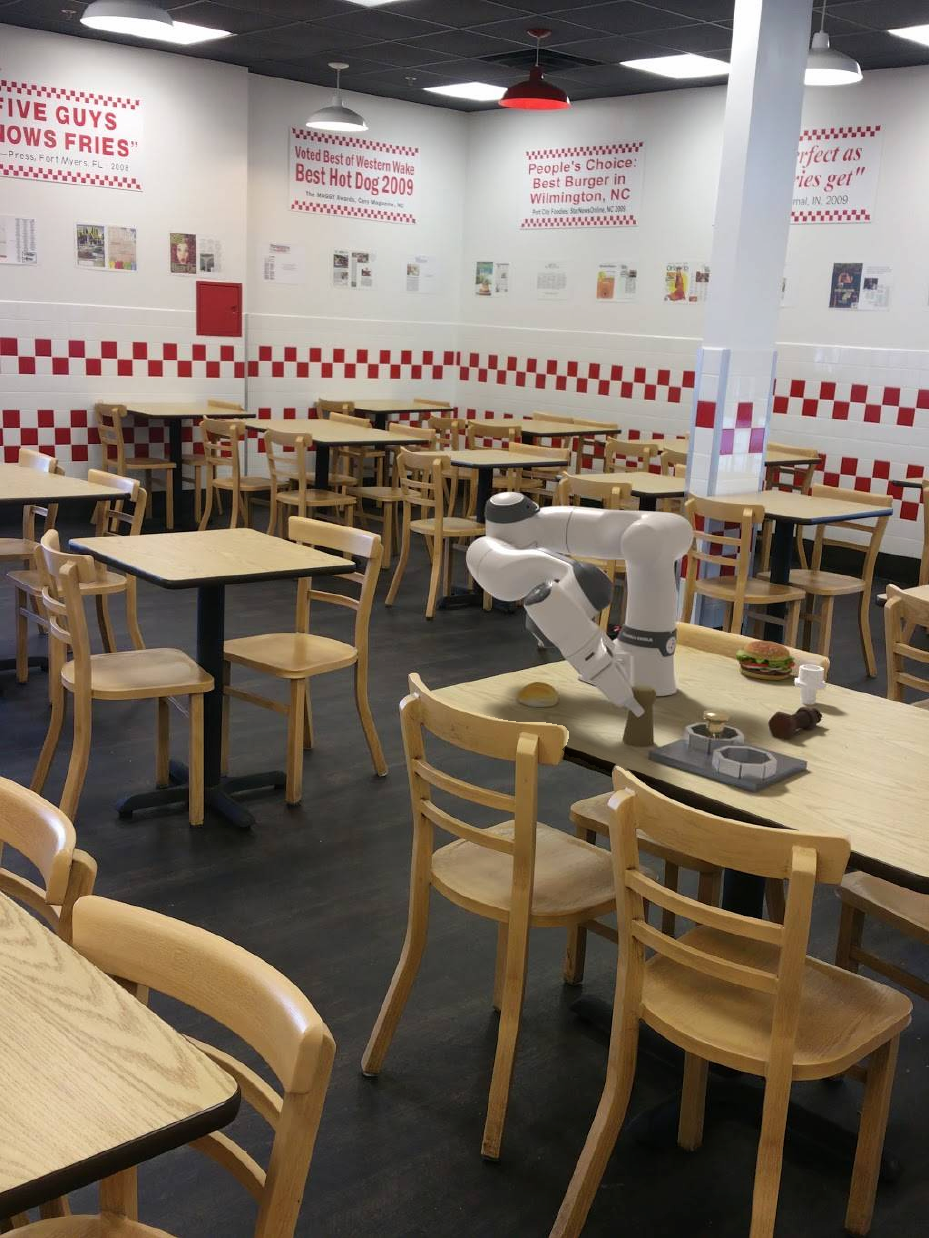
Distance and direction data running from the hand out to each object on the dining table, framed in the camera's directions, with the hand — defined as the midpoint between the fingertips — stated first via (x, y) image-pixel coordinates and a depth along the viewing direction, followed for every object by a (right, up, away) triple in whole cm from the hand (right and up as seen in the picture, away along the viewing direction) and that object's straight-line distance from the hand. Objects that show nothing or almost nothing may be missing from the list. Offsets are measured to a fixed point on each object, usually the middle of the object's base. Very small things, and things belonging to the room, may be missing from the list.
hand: (638, 706), depth 227 cm
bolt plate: (+15, -10, -8) cm, 20 cm away
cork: (0, -7, +2) cm, 7 cm away
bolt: (+34, -6, +15) cm, 38 cm away
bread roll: (-18, -1, +25) cm, 30 cm away
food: (+38, +3, +58) cm, 70 cm away
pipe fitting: (+43, -2, +36) cm, 56 cm away
